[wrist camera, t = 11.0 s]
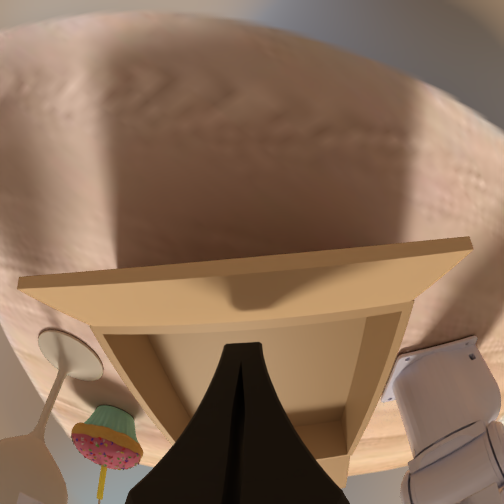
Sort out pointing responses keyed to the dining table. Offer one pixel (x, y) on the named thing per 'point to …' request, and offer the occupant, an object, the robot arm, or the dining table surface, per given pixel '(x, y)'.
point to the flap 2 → (336, 469)
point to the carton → (269, 368)
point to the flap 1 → (250, 285)
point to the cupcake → (108, 441)
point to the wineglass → (33, 445)
